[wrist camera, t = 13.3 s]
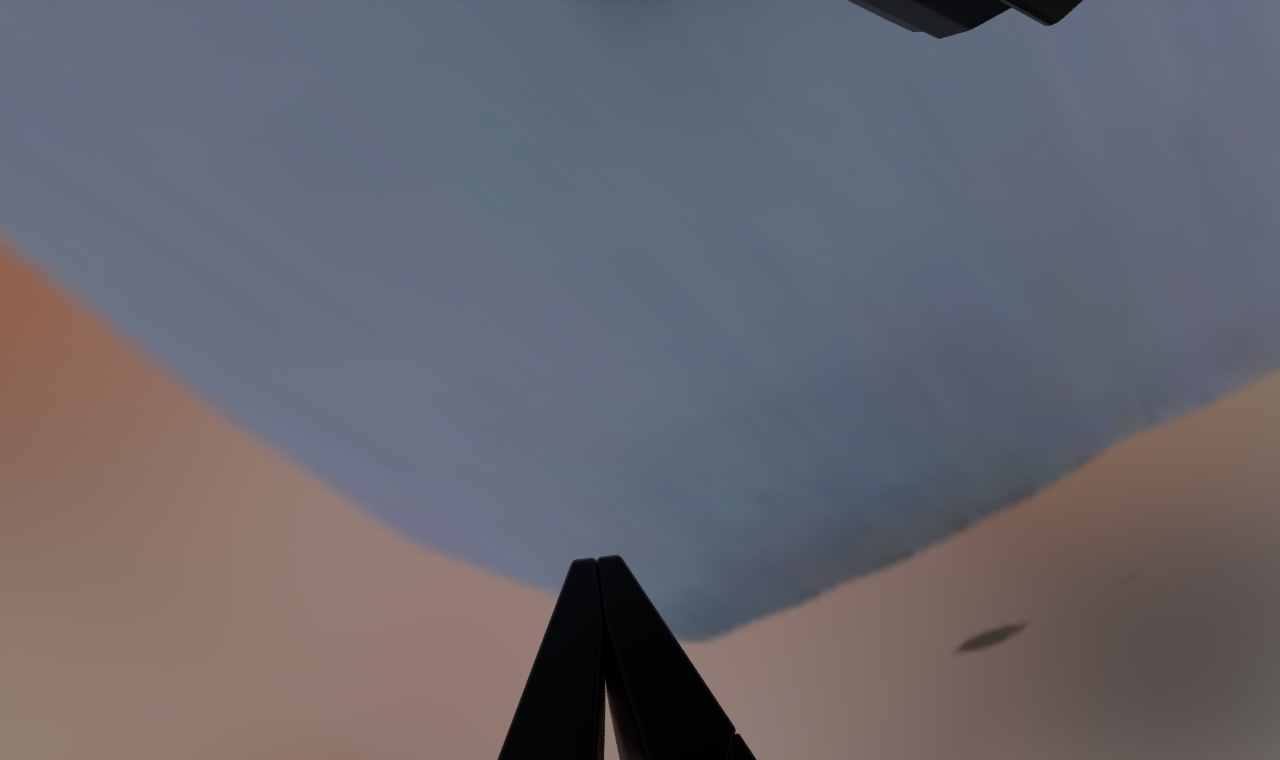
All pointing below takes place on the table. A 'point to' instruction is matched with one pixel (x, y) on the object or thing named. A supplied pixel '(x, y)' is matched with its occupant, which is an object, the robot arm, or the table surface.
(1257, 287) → the table surface
